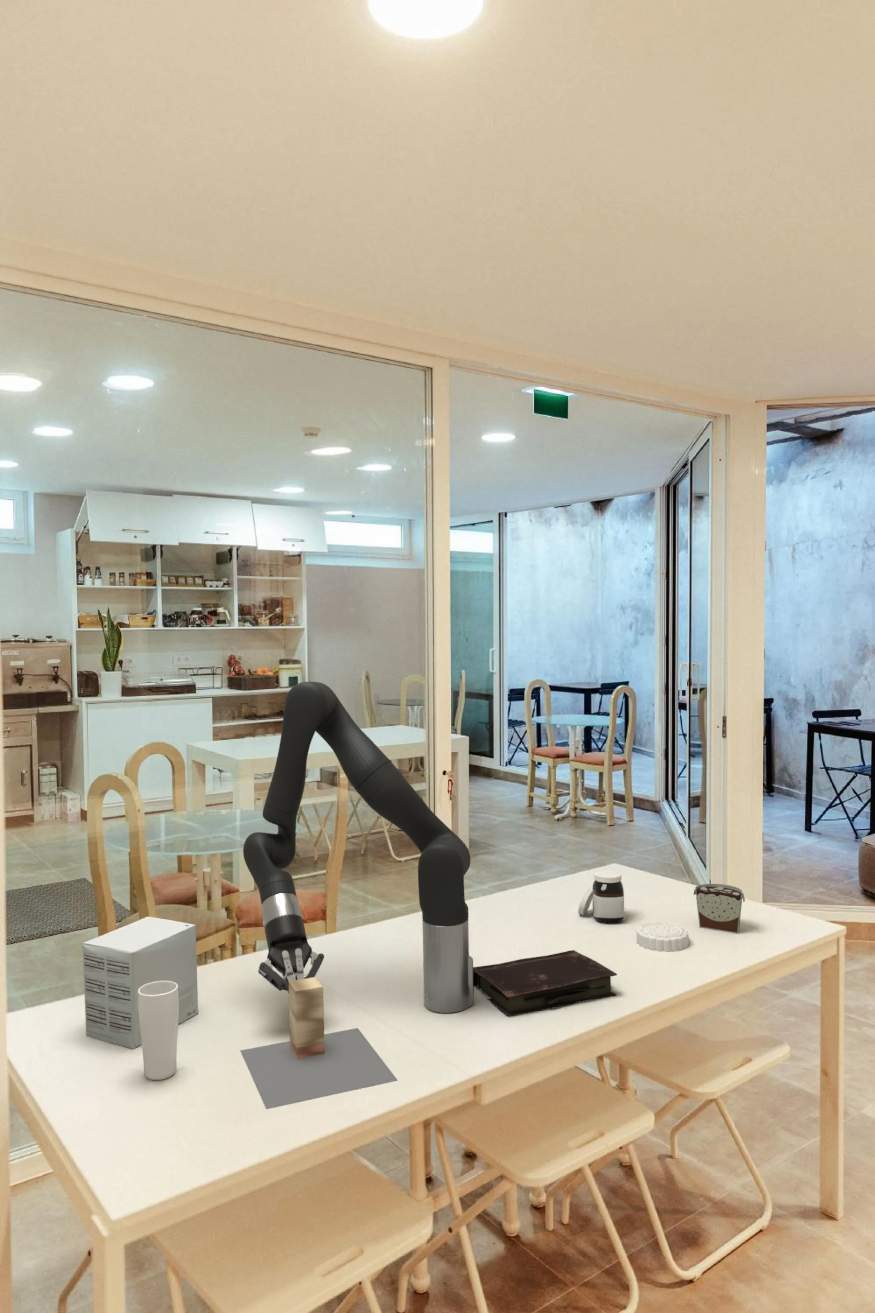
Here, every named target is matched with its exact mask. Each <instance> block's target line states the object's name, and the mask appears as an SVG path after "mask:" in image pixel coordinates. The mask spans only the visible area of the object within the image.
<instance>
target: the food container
mask: <svg viewBox="0 0 875 1313" xmlns="http://www.w3.org/2000/svg"><path fill="white" fill-rule="evenodd" d="M694 888H695V889H694V891H693V896H695V897H696V898H695V899H696V906H697V907H696V908H697V909H696V910H697V917H698V926H699V928H700V929H704V930H705V929H706V930H712V931H718V932H725V933H730V934H739V932H740V926H741V925H740V924H741V915H742V914H741V913H742V904H743V903H744V902H745V900H746V899H745V894H744V892H743V890H742V889H741V888H739V887H736V886H733V885H729V884H725V883H724V884H723V883H705V884H699V885H696V886H695V887H694ZM742 902H743V903H742Z"/></svg>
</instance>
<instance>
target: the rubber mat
mask: <svg viewBox="0 0 875 1313" xmlns="http://www.w3.org/2000/svg"><path fill="white" fill-rule="evenodd" d="M324 1046H325V1053H324V1054H319V1055H314V1056H310V1057H305V1058H300V1059H297V1058H296V1056H295V1055H294V1053H293V1051H292V1049H291V1048H290V1040H287V1041H283V1042H277V1043H273V1044H267V1045H262V1046H257V1047H251V1048H245V1049H242V1050H240V1053H241V1056H242V1058H243V1061H244V1062H245V1065H246V1067H247V1069H248V1071H249V1073H250V1075H251V1078H252V1080H253V1083H254V1085H255V1087H256V1089H257V1092H258V1094H259V1096H260V1097H261V1100H262V1103H263V1105H264V1107H265V1109H266V1110H268V1109H269V1110H270V1109H274V1108H279V1107H283V1106H286V1105H288V1106H289V1105H292V1104H297V1103H301V1102H307V1101H311V1100H315V1099H320V1098H324V1097H329V1096H333V1095H338V1094H343V1093H347V1092H353V1091H357V1090H361V1089H365V1088H369V1087H375V1086H379V1085H383V1084H388V1083H392V1082H397V1081H398V1078H397V1077H396V1076H395V1074H393V1072H392V1071H391V1069H390V1068H389V1067H388V1066H387V1064H386V1063H385V1062H384V1060H383V1059H382V1058H381V1057H380V1055H379V1054H378V1052H377V1051H376V1050H375V1048H374V1047H373V1046H372V1045H371V1043H370V1042H369V1040H367V1038H366V1037H365V1036H364V1034H363V1032H362V1031H361V1030H360V1029H359V1028H358V1027H355V1028H352V1029H345V1030H340V1031H335V1032H330V1033H324Z"/></svg>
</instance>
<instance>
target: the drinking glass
mask: <svg viewBox="0 0 875 1313" xmlns="http://www.w3.org/2000/svg"><path fill="white" fill-rule="evenodd" d="M138 1019H139V1027H140V1035H141V1043H142V1044H141V1049H142V1050H141V1051H142V1059H143V1074H144V1076H145V1078H146V1079H148V1080H151V1081H161V1080H165V1079H168V1078H170V1077H171V1076H173V1075H174V1074H175V1073H176V1071H177V1069H178V1068H177V1067H178V1065H177V1054H178V1052H177V1051H178V1036H179V1035H178V1033H179V1024H178V1021H179V992H178V985H177V984H176V983H175V982H172V981H155V982H151V983H148V984H145V985H143V986H141V987H140V988H139V989H138Z"/></svg>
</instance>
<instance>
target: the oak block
mask: <svg viewBox="0 0 875 1313" xmlns="http://www.w3.org/2000/svg"><path fill="white" fill-rule="evenodd" d="M288 1003H289V1006H288V1007H289V1009H288V1012H289V1041H290V1048H291V1049H292V1051H293V1053H294V1055H295V1056H296V1058H297V1059H300V1058H305V1057H310V1056H314V1055H319V1054H324V1053H325V1046H324V1034H325V1012H324V1010H325V1009H324V1008H325V1007H324V986H323V985H322V984H321V982H320V981H319V979H318V978H317V977H316V976H315V977H313V978H307V979H301V980H295V981H289V993H288Z"/></svg>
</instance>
